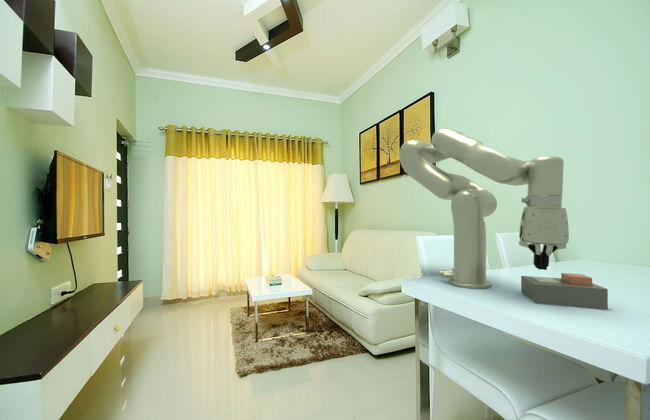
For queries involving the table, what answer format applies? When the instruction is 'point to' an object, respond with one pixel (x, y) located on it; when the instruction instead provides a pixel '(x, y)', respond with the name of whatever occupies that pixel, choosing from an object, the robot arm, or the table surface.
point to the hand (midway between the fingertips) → (540, 268)
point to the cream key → (545, 280)
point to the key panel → (564, 293)
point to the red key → (576, 279)
